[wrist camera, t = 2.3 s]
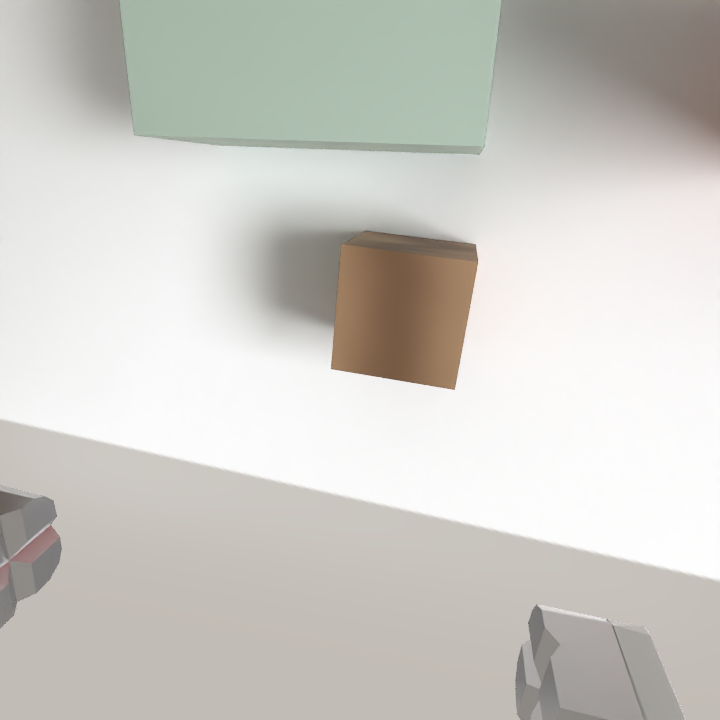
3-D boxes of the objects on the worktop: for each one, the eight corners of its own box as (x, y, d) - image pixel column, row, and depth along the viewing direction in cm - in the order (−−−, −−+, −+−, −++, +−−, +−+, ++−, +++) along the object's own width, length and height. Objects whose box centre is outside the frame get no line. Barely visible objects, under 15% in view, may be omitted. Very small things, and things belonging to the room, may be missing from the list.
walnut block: (475, 244, 27) (478, 262, 21) (456, 348, 29) (454, 389, 23) (366, 230, 28) (341, 244, 22) (355, 333, 30) (331, 369, 24)
